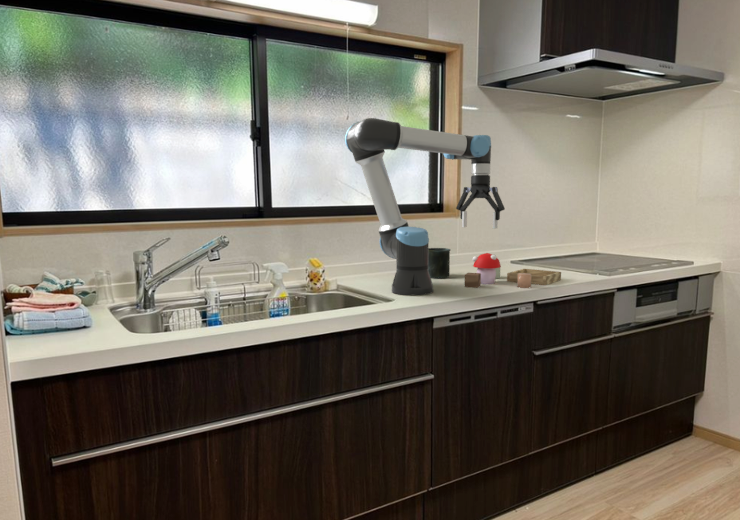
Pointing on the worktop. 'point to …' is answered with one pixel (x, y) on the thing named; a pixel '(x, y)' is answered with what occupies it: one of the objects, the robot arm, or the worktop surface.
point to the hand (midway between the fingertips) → (479, 227)
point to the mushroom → (486, 267)
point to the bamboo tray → (536, 276)
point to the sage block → (497, 273)
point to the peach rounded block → (524, 280)
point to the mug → (438, 262)
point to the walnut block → (473, 280)
